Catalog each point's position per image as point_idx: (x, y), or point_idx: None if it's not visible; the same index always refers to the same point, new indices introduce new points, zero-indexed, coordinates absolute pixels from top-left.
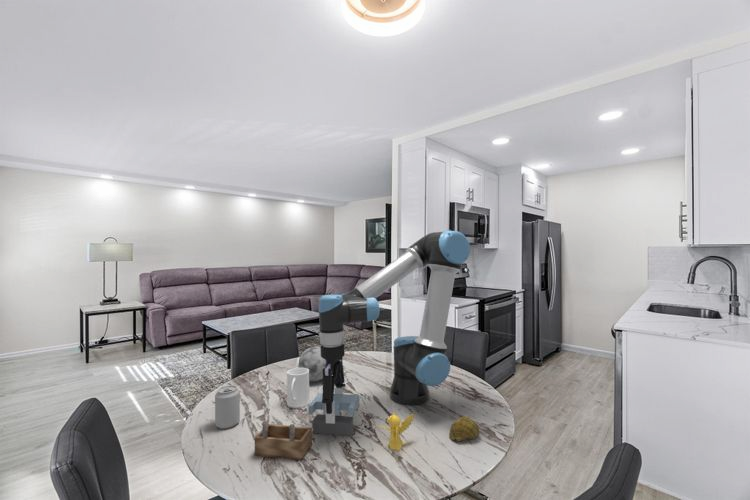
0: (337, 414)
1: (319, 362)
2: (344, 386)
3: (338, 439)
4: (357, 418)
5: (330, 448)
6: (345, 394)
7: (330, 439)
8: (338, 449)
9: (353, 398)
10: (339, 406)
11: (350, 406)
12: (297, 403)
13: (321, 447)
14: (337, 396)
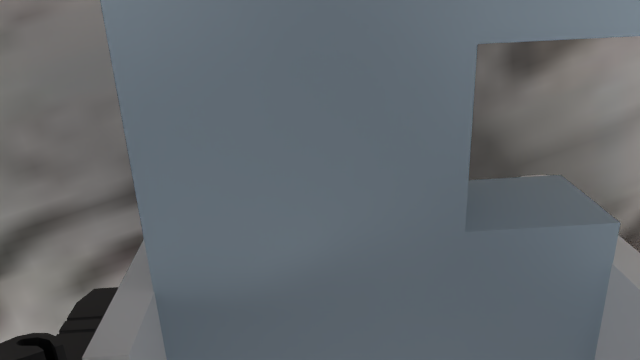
0: (565, 181)
1: None
2: (59, 346)
3: (475, 100)
4: (78, 36)
5: (608, 120)
6: (152, 242)
7: (481, 163)
8: (621, 52)
9: (290, 51)
10: (495, 210)
11: (619, 12)
12: None
13: (595, 190)
14: (254, 335)
